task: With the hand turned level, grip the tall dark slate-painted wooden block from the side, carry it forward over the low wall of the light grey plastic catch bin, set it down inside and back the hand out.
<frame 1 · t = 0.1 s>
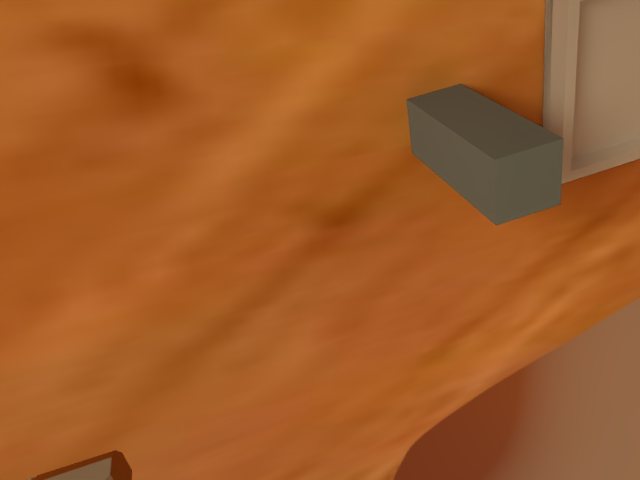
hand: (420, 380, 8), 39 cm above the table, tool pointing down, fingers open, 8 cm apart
slate block: (436, 119, 50), on the table
catch bin: (626, 63, 53), on the table
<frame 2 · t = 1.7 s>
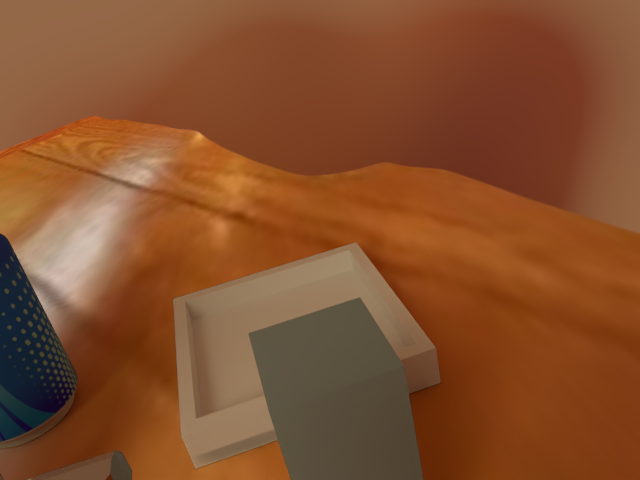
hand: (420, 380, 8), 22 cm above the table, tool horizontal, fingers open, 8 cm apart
catch bin: (294, 350, 46), on the table
beer can: (31, 415, 45), on the table
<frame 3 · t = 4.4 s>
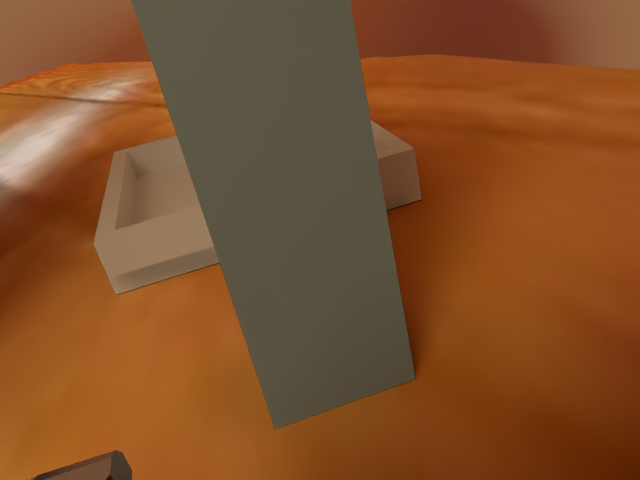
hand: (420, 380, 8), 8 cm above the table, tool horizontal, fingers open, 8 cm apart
slate block: (326, 360, 22), on the table
catch bin: (250, 192, 38), on the table
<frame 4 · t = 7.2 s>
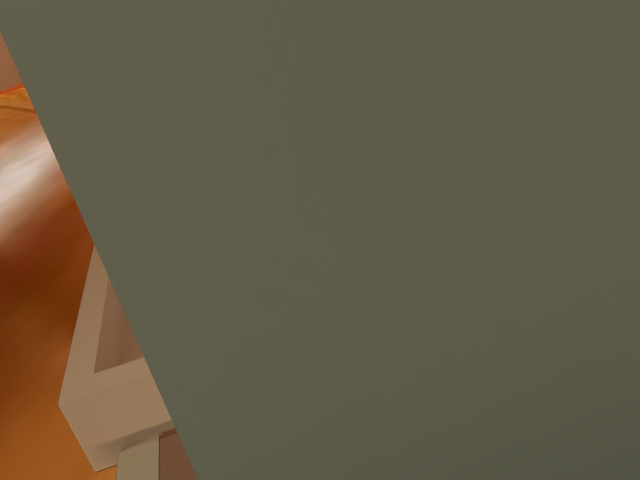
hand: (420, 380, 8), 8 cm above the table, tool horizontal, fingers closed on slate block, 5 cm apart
catch bin: (288, 276, 28), on the table
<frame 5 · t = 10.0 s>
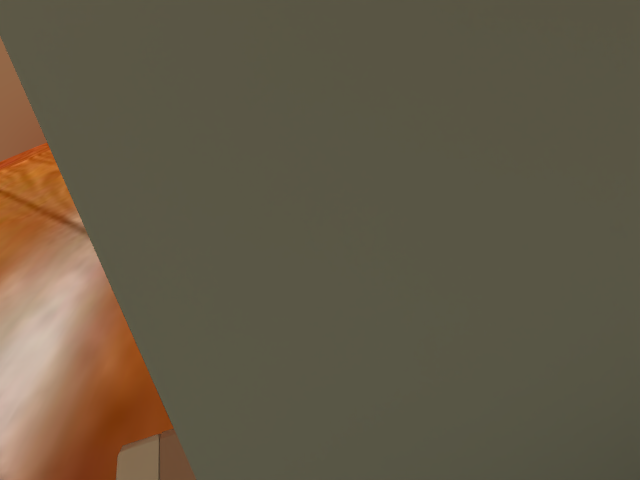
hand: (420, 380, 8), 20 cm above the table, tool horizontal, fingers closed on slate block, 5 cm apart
when the fingers open (10 cm above the table, at t = 13.3 s): slate block drops 1 cm, resting on catch bin.
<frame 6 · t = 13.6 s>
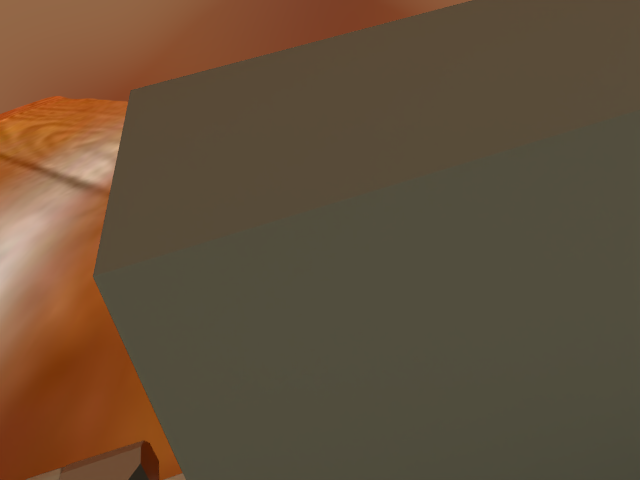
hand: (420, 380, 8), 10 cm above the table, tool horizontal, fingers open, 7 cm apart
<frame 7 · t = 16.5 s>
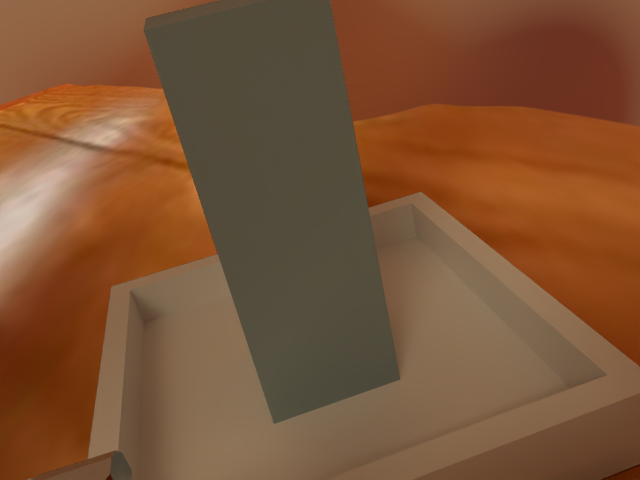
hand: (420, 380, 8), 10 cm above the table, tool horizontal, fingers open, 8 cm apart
slate block: (321, 362, 24), point 1 cm above the table, touching catch bin
catch bin: (326, 379, 24), on the table
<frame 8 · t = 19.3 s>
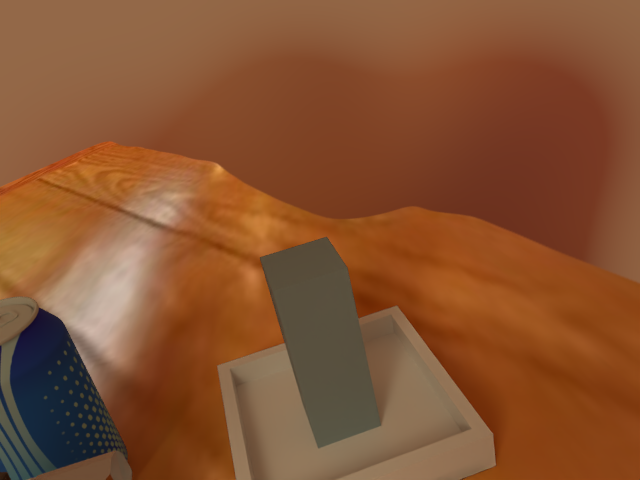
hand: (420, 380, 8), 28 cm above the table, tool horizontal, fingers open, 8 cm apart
slate block: (340, 414, 45), point 1 cm above the table, touching catch bin
catch bin: (342, 423, 46), on the table
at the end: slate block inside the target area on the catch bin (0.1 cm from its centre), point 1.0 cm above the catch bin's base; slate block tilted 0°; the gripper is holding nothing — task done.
